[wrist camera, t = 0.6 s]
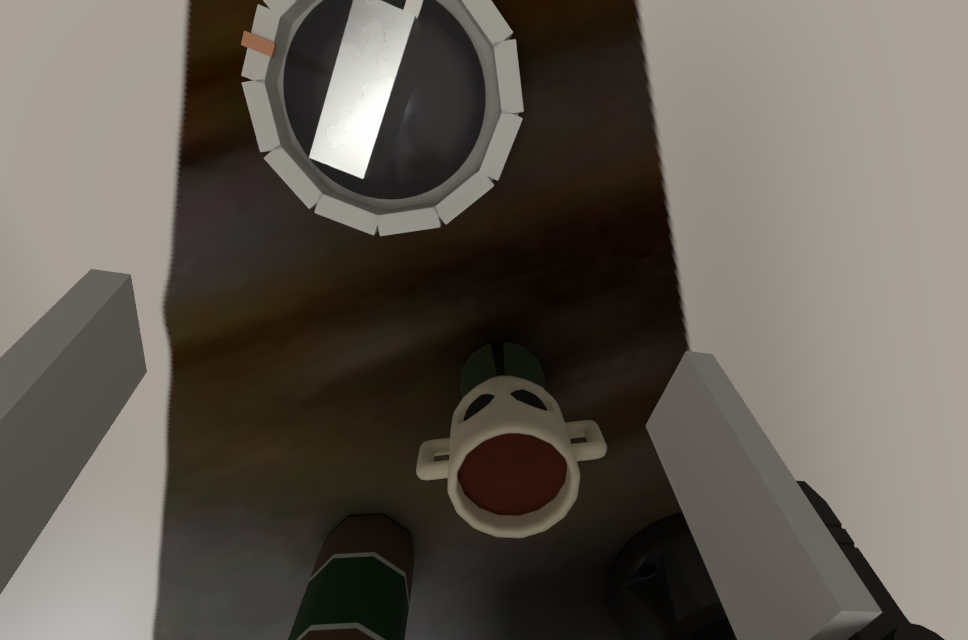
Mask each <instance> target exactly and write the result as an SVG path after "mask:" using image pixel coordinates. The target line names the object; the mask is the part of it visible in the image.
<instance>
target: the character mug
mask: <svg viewBox="0 0 968 640" xmlns="http://www.w3.org/2000/svg"><path fill="white" fill-rule="evenodd" d="M503 350H504V352H499V351H498V352H495V353H492V348H491V344H486V345H484V346H483V347H481V348H480V349H478V350H477V351H475V352H474V353H472V354H471V355H470V357H469V358H468V360H467V362H466V363H465V365H464V366H463V368H462V369H461V381H460V392H461V399H462V400H461V402H460V403H459V405H458V407H457V408H456V410H455V412H454V414H453V417H452V425H451V435H450V438H443V439H435V440H429V441H426V442H423V444H422V445H421V447H420V450H419V456H418V462H417V468H416V473H417V475H418V477H419V478H420V479H421V480H434V479H442V478H448V494H449V496H450V499H451V501H452V503H453V505H454V508H455V510H456V512H457V513H458V514H459V515H460V516H461V517H462V518H463V519H464V520H465V521H466V522H468V523H469V524H470V525H471V526H472V527H473V528H474V529H477V530H480V531H482V532H485V533H487V534H490V535H492V536H495V537H505V538H524V537H527V536H530V535H534V534H537V533H541V532H544V531H546V530H548V529H549V528H550V527H552V526H553V525H554V524H556V523H557V522H559V521H560V520H561V519H563V518H564V517H565V516H566V514H567V513H568V511H569V510H570V508H571V507H572V505H573V504H574V502H575V500H576V499H577V495H578V488H579V482H580V471H579V467H578V464H577V461H584V460H592V459H598V458H601V457H604V455H605V454H606V451H607V445H606V443H605V441H604V438H603V436H602V433H601V431H600V429H599V427H598V425H597V424H596V423H595V422H594V421H593V420H583V421H575V422H567V423H565V422H564V419H563V416H562V413H561V411H560V408H559V405H558V403H557V402H556V400H555V399H554V398H553V397H552V396H551V395H549V394H548V393H547V392H546V382H545V375H544V373H543V370H542V367H541V364H540V362H539V359H538V358H537V357H535V356H534V355H533V354H532V353H531V352H530V351H529V350H528V349H527V348H526V347H523V346H520V345H517V344H514V343H511V342H503ZM579 437H586V439H587V442H584V443H576V444H571V442H570V439H571V438H579ZM446 454H449V460H443V461H435V462H434V456H438V455H446Z"/></svg>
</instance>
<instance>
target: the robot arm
mask: <svg viewBox="0 0 968 640" xmlns="http://www.w3.org/2000/svg"><path fill="white" fill-rule="evenodd" d="M146 372H147V370H146V364H145V358H144V352H143V346H142V340H141V334H140V328H139V322H138V316H137V310H136V304H135V298H134V292H133V286H132V280H131V275H130V274H123V273H115V272H108V271H101V270H94V269H91V270H90V271H89V272H88V273H87V274H86V275H85V276H84V277H83V278H82V279H81V280H80V281H78V282H77V283H76V284H75V285H74V286H73V287H72V288H71V289H70V290H69V291H68V292H67V294H65V295H64V296H63V297H62V298H61V299H60V300H59V301H58V302H57V303H56V304H55V305H54V306H53V307H52V308H51V309H50V310H49V311H48V312H47V313H46V314H45V315H44V316H43V317H42V318H41V319H40V320H39V321H37V322H36V323H35V324H34V325H33V326H32V328H30V329H29V330H28V331H27V332H26V333H25V334H24V335H23V336H22V337H21V338H20V339H19V340H18V341H17V342H16V343H15V344H14V345H13V346H12V347H11V348H10V349H9V350H8V351H7V352H6V353H5V354H4V355H3V356H2V357H1V358H0V594H1V593H2V591H3V589H4V588H5V586H6V585H7V583H8V582H9V580H10V579H11V577H12V576H13V574H14V573H15V571H16V570H17V568H18V567H19V565H20V564H21V562H22V561H23V559H24V557H25V556H26V555H27V553H28V551H29V550H30V548H31V547H32V545H33V544H34V542H35V541H36V539H37V538H38V536H39V535H40V533H41V532H42V530H43V529H44V527H45V526H46V524H47V523H48V521H49V520H50V518H51V517H52V515H53V513H54V512H55V510H56V509H57V507H58V506H59V504H60V503H61V501H62V500H63V498H64V497H65V495H66V494H67V492H68V491H69V489H70V488H71V486H72V485H73V483H74V482H75V480H76V478H77V477H78V475H79V474H80V472H81V471H82V469H83V468H84V466H85V465H86V463H87V462H88V460H89V459H90V457H91V456H92V454H93V453H94V451H95V450H96V448H97V447H98V445H99V444H100V442H101V440H102V439H103V437H104V436H105V434H106V433H107V431H108V430H109V428H110V426H111V425H112V424H113V422H114V421H115V419H116V418H117V416H118V415H119V413H120V411H121V410H122V408H123V407H124V406H125V404H126V402H127V401H128V399H129V398H130V396H131V395H132V393H133V392H134V390H135V388H136V387H137V386H138V384H139V383H140V381H141V380H142V378H143V377H144V375H145V374H146ZM646 428H647V430H648V432H649V435H650V437H651V439H652V442H653V444H654V446H655V449H656V451H657V453H658V456H659V458H660V461H661V463H662V465H663V468H664V470H665V472H666V475H667V477H668V479H669V482H670V484H671V486H672V489H673V491H674V493H675V496H676V498H677V500H678V503H679V505H680V507H681V510H682V512H683V514H681V515H677V516H674V517H671V518H668V519H665V520H663V521H661V522H658V523H656V524H654V525H653V526H651V527H649V528H647V529H646V530H644V531H643V532H641V533H640V534H639V535H637V536H636V537H635V538H634V539H633V540H632V541H631V542H630V543H629V544H628V545H627V546H626V547H625V548H624V549H623V550H622V552H621V553H620V555H619V556H618V558H617V559H616V561H615V563H614V565H613V567H612V570H611V573H610V577H609V582H608V596H609V601H610V605H611V609H612V612H613V616H614V619H615V622H616V625H617V627H618V629H619V631H620V634H621V635H622V637H623V639H624V640H944V639H943V638H942V637H940V636H939V635H938V634H936V633H935V632H933V631H931V630H929V629H927V628H925V627H923V626H921V625H916V624H911V623H910V622H909V621H908V619H907V618H906V617H905V616H904V614H903V613H902V611H901V610H900V609H899V607H898V606H897V604H896V603H895V601H894V600H893V599H892V597H891V595H890V594H889V592H888V591H887V590H886V588H885V587H884V585H883V584H882V582H881V581H880V579H879V578H878V577H877V575H876V574H875V572H874V571H873V569H872V568H871V567H870V565H869V563H868V562H867V560H866V559H865V558H864V556H863V555H862V553H861V552H860V550H859V549H858V548H855V547H854V542H853V540H852V539H851V537H850V536H849V534H848V533H847V532H846V530H845V529H842V527H841V525H842V524H841V523H840V521H839V520H838V518H837V517H836V515H835V514H834V513H833V511H832V510H831V508H830V507H829V505H828V504H827V502H826V501H825V500H824V499H823V498H821V497H820V496H819V495H818V494H817V493H816V492H815V491H814V490H813V489H812V488H811V487H810V486H809V485H808V484H807V483H806V482H804V481H796V480H795V479H794V477H793V476H792V474H791V473H790V471H789V470H788V468H787V467H786V465H785V464H784V462H783V461H782V459H781V458H780V456H779V455H778V453H777V452H776V450H775V448H774V447H773V445H772V444H771V443H770V441H769V440H768V438H767V436H766V435H765V433H764V432H763V430H762V429H761V427H760V426H759V424H758V423H757V421H756V420H755V418H754V417H753V415H752V414H751V412H750V411H749V409H748V408H747V406H746V404H745V403H744V401H743V400H742V398H741V397H740V395H739V394H738V392H737V391H736V389H735V388H734V386H733V385H732V383H731V382H730V380H729V379H728V377H727V376H726V374H725V373H724V371H723V370H722V368H721V367H720V365H719V364H718V362H717V361H716V359H715V358H714V356H713V355H711V354H704V353H697V352H690V351H686V352H685V354H684V356H683V357H682V359H681V361H680V363H679V365H678V367H677V369H676V370H675V372H674V374H673V376H672V378H671V380H670V381H669V383H668V385H667V387H666V389H665V391H664V393H663V394H662V396H661V398H660V400H659V402H658V404H657V405H656V407H655V409H654V411H653V413H652V415H651V417H650V418H649V420H648V422H647V424H646Z"/></svg>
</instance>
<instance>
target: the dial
mask: <svg viewBox="0 0 968 640" xmlns="http://www.w3.org/2000/svg"><path fill="white" fill-rule="evenodd" d="M283 91H284V101H285V107H286V112H287V115H288V119H289V122H290V125H291V128H292V130H293V132H294V134H295V137H296V139H297V141H298V142H299V144H300V146H301V147H302V149H303V151H304V152H305V153H306V155H307V156H308V157H309V159H310V160H311V161H312V163H313V164H314V165H315V166H316V167H317V168H318V169H319V170H320V171H321V172H322V173H324V174H325V175H326V176H327V177H329V178H330V179H331V180H332V181H334V182H335V183H337V184H339V185H340V186H342V187H344V188H346V189H348V190H350V191H352V192H354V193H357V194H360V195H363V196H366V197H371V198H377V199H389V200H394V199H405V198H410V197H414V196H418V195H421V194H423V193H426V192H429V191H430V190H432V189H434V188H436V187H438V186H440V185H441V184H442V183H444V182H445V181H447V180H448V179H449V178H450V177H451V176H453V175H454V174H455V173H456V172H457V171H458V170H459V169H460V167H461V166H462V165H463V164H464V162H465V161H466V160H467V158H468V157H469V155H470V153H471V152H472V150H473V148H474V146H475V144H476V142H477V140H478V137H479V134H480V131H481V128H482V124H483V119H484V113H485V102H486V92H485V81H484V75H483V70H482V66H481V63H480V60H479V57H478V54H477V52H476V49H475V47H474V45H473V43H472V41H471V39H470V37H469V36H468V34H467V33H466V31H465V29H464V28H463V27H462V25H461V24H460V23H459V22H458V20H457V19H456V18H455V17H454V16H453V15H452V14H451V13H450V12H449V11H448V10H447V9H446V8H445V7H444V6H443V5H441V4H440V3H439V2H437V1H436V0H323V1H321V2H320V3H319V4H318V5H317V6H315V7H314V8H313V9H312V11H311V12H310V13H309V14H308V15H307V16H306V17H305V19H304V20H303V22H302V23H301V25H300V26H299V28H298V29H297V31H296V33H295V35H294V37H293V39H292V41H291V44H290V47H289V50H288V53H287V56H286V62H285V67H284V77H283Z"/></svg>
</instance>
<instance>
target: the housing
mask: <svg viewBox="0 0 968 640" xmlns="http://www.w3.org/2000/svg"><path fill="white" fill-rule="evenodd" d="M263 1H264V2H265V3H266V4H267V6H268V7H269V8H270V9H271V10H270V9H268V8H266V7H263V6H261V5H259V4H258V6H257V10H256V14H255V19H254V23H253V27H252V32H251V33H249V32H246V31H244V34H243V38H242V43H241V45H243V46H245V47H248V49H247V53H246V57H245V62H244V66H243V70H242V76H244V77H247V78H249V79H251V80H254V81H248V82H242V86H243V90H244V93H245V97H246V101H247V105H248V108H249V112H250V116H251V119H252V123H253V127H254V130H255V134H256V138H257V141H258V145H259V149H260V152H265V151H271V152H270V153H269V154H268V155H267V156H265V157H264V159H265V160H266V161H267V162H268V164H269V165H270V166H271V167H272V168H273V169H274V170H275V171H276V173H277V174H278V175H279V176H280V177H281V178H282V179H283V180H284V181H285V183H286V184H287V185H288V186H289V187H290V188H291V189H292V190H293V192H294V193H295V194H296V195H297V196H298V197H299V198H300V199H301V201H302V202H303V203H304V204H305V205H306V206H307V207H308V208H309V209H310V208H312V207H314V206H316V205H317V206H316V209H315V213H316V214H319V215H322V216H324V217H327V218H329V219H332V220H335V221H337V222H340V223H343V224H345V225H348V226H350V227H353V228H356V229H358V230H361V231H363V232H366V233H369V234H371V235H375V234H376V233H377V232H378V231H379V234H380V236H385V235H392V234H398V233H405V232H412V231H419V230H425V229H432V228H439V227H441V224H442V221H443V222H444V223H445V224H448V223H449V222H450V221H451V220H453V219H454V218H455V217H456V216H458V215H459V214H460V213H461V212H462V211H464V210H465V209H466V208H467V207H469V206H470V205H471V204H472V203H474V202H475V201H476V200H477V199H479V198H480V197H481V196H482V195H484V194H485V193H486V192H487V191H489V190H490V189H491V188H492V187H494V183H493V181H492V180H493V179H495V180H499V177H500V175H501V172H502V170H503V167H504V165H505V162H506V160H507V157H508V155H509V152H510V150H511V147H512V144H513V142H514V139H515V137H516V134H517V132H518V129H519V127H520V124H521V122H522V119H523V118H521V117H519V116H518V115H519V113H520V112H524V109H523V100H522V91H521V82H520V73H519V64H518V55H517V47H516V39H513V40H509V39H510V38H511V36H512V34H513V31H512V30H511V28H510V27H509V25H508V24H507V23H506V21H505V20H504V18H503V17H502V15H501V14H500V12H499V11H498V9H497V8H496V6H495V5H494V4H493V2H492V1H491V0H436V1H437V2H439V3H440V4H441V5H443V6H444V7H445V8H446V9H447V10H448V11H449V12H450V13H451V14H452V15H453V16H454V17H455V18H456V19H457V20H458V22H459V23H460V24H461V25H462V27H463V28H464V29H465V31H466V33H467V34H468V36H469V37H470V39H471V41H472V43H473V45H474V47H475V49H476V52H477V54H478V57H479V60H480V63H481V66H482V70H483V75H484V81H485V92H486V102H485V113H484V119H483V124H482V128H481V131H480V134H479V137H478V140H477V142H476V144H475V146H474V148H473V150H472V152H471V153H470V155H469V157H468V158H467V160H466V161H465V162H464V164H463V165H462V166H461V167H460V169H459V170H458V171H457V172H456V173H455V174H454V175H453V176H451V177H450V178H449V179H448V180H447V181H445V182H444V183H442V184H441V185H440V186H438V187H436V188H434V189H432V190H430V191H429V192H426V193H423V194H421V195H418V196H414V197H410V198H405V199H394V200H389V199H377V198H371V197H366V196H363V195H360V194H357V193H354V192H352V191H350V190H348V189H346V188H344V187H342V186H340V185H339V184H337V183H335V182H334V181H332V180H331V179H330V178H329V177H327V176H326V175H325V174H324V173H322V172H321V171H320V170H319V169H318V168H317V167H316V166H315V165H314V164H313V163H312V161H311V160H310V159H309V157H308V156H307V155H306V153H305V152H304V151H303V149H302V147H301V146H300V144H299V142H298V141H297V139H296V137H295V134H294V132H293V130H292V128H291V125H290V122H289V119H288V115H287V112H286V107H285V101H284V91H283V77H284V67H285V62H286V56H287V53H288V50H289V47H290V44H291V41H292V39H293V37H294V35H295V33H296V31H297V29H298V28H299V26H300V25H301V23H302V22H303V20H304V19H305V17H306V16H307V15H308V14H309V13H310V12H311V11H312V9H313V8H314V7H315V6H317V5H318V4H319V3H320V2H321V1H323V0H263Z"/></svg>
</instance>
